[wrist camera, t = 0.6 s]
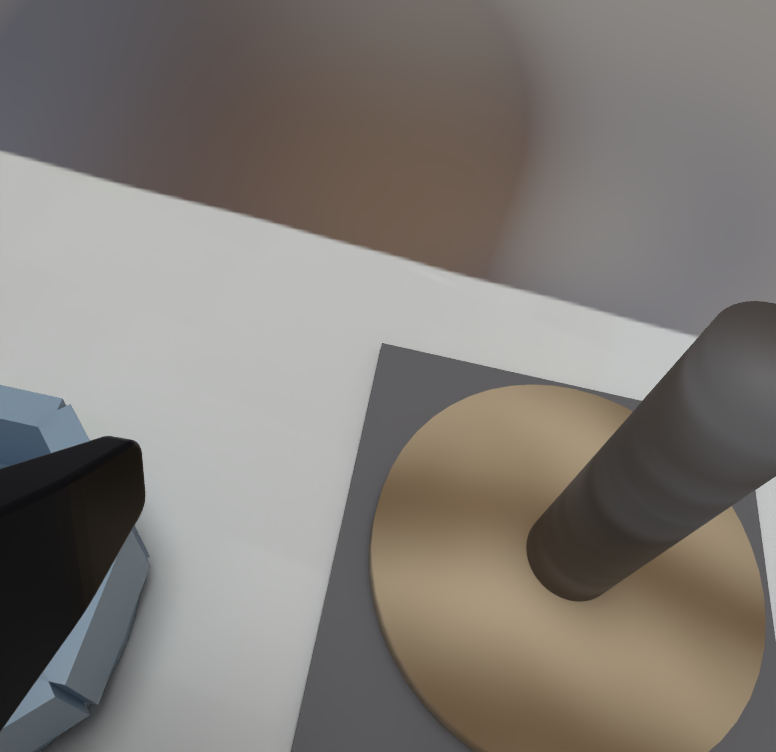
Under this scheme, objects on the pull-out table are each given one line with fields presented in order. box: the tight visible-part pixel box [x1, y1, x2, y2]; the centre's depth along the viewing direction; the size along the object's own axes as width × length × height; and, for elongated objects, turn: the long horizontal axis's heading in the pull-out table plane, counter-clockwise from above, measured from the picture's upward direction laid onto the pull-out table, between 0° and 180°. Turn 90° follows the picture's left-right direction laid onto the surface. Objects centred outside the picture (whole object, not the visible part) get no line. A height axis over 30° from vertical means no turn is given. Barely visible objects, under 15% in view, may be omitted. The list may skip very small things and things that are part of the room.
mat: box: [291, 343, 776, 752], centre depth 23 cm, size 15×15×1 cm
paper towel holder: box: [369, 301, 776, 752], centre depth 18 cm, size 13×13×12 cm
